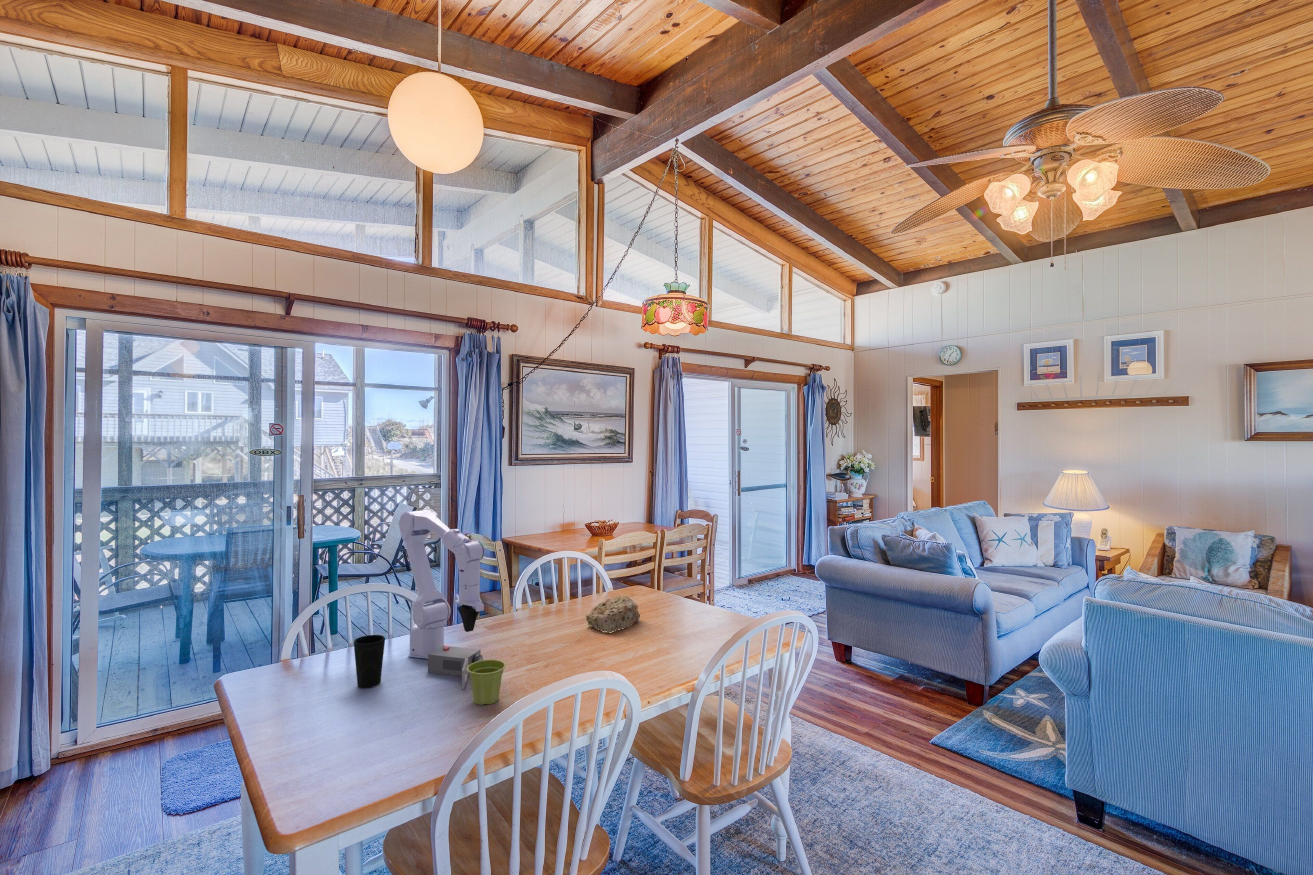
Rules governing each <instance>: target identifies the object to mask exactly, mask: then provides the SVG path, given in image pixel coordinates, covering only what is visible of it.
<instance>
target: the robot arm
mask: <svg viewBox="0 0 1313 875" xmlns="http://www.w3.org/2000/svg"><path fill="white" fill-rule="evenodd" d="M398 528H399V531H400V536H401V540H402V541H403V542H404V545H405V549H406V552H407V553H406V554H407V557H408V561H409V564H410V568H411V571H412V572H411V574H412V577H413V581H414V584H415V588H416V592H417V595H418V596H417V597H416V599H415V600H414V602H412V604H411V607H412V620H413V622H414V625H413V626H412V627H411V630H410V633H409V654H408V655H407V656H408V658H409V657H410V658H419V659H426V660H428V654H430V653H432V652H433V651H435V650H437V649H438V648H440V647H442V646H445V625H446V624H447V621H448V620H449V618H450V616H451V612H452V611H451V606H450V603H448V600H447V599H446V595H445V594H443V593H442V592H440V591H438V590H437V588H436V585H435V580H434V576H433V573H432V568H431V565H430V562H429V558H428V554H427V549H426V546H425V540H426V539H427V538H429V536H430V535H431V533H432V534H434V535H435V536H437V537H439V538H440V539H442V540H441V543H442V545H443V546H444V547H446V548H447V549H448V550H449V551H451V553H453V554H454V557H455V560H456V563H457V564H456V565H457V568H458V571H459V572H458V573H459V574H458V578H459V579H458V580H459V581H458V593H457V594H455V598H454V599H455V601H454V604H456V605H459V606H457V611H458V613H459V614H460V617H461V622H462V626H463V631H464V632H466V633H469V632H473V631H474V629H475V626H476V621H477V618H478V617H479V616H478V615H479V614H480V612H483V611H485V610H484V609H485V607H484V606H485V603H483V601H482V600H481V596H480V594H481V592H480V588H481V587H480V585H481V584H480V582H481V579H480V578H481V575H480V574H481V561H482V560H483V559H484V556H485V551H486V550H485V547H484V544H483V543H482V542H481V541H480V540H477V539H476V540H471V539H470V538H469V537H468V536H466V535H464V534H463V533H462V532H461V530H460V529H459V528H450V527H449V526H447V525H446V524H445V523H444V522H443V521H442V520H441V519H440V518H439V514H438V512H436V511H434V509H431V508H428V509H424V510H414V511H404V512H402V513H401V515H400V517H399V520H398Z"/></svg>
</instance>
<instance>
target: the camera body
mask: <svg viewBox="0 0 1313 875" xmlns="http://www.w3.org/2000/svg"><path fill="white" fill-rule="evenodd" d="M481 651H482V650H481V649H480V648H472V647H470V648H469V647H461V646H460V647H459V646H451V645H450V646H449V645H444V646H442V647H440V648H438V649H437V650H435V651H433V652H432V653H430V654H428V659H427V673H430V674H431V673H433V674H441V675H451V676H460V677H462V668H463V665H464V662H465V659H468V666H469V665H470V664H472V663H474V662H477V661H482V660H484V658H483V655H482V654H481ZM468 676H469V672H468Z"/></svg>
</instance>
